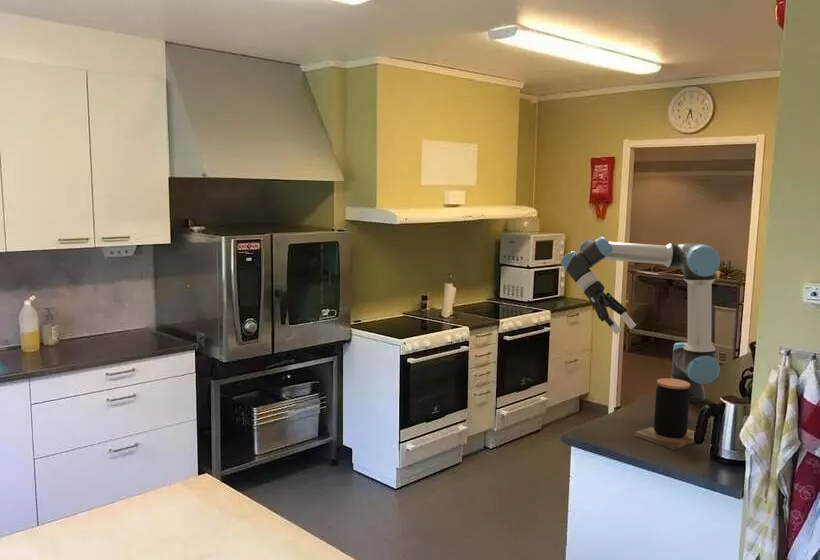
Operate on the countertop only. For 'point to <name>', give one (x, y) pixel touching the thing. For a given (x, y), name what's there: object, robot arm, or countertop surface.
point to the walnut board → (666, 438)
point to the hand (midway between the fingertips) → (626, 329)
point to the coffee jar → (671, 407)
